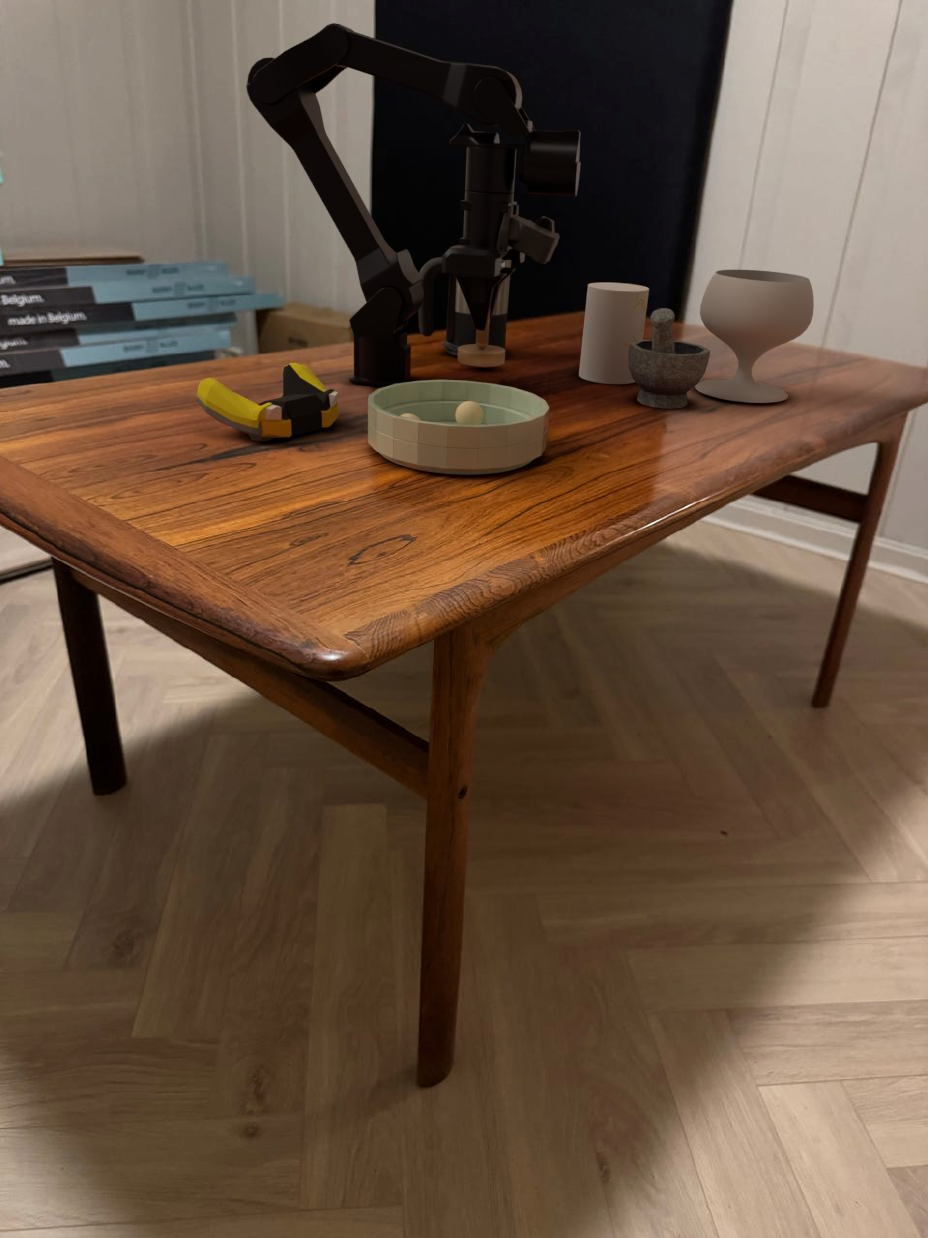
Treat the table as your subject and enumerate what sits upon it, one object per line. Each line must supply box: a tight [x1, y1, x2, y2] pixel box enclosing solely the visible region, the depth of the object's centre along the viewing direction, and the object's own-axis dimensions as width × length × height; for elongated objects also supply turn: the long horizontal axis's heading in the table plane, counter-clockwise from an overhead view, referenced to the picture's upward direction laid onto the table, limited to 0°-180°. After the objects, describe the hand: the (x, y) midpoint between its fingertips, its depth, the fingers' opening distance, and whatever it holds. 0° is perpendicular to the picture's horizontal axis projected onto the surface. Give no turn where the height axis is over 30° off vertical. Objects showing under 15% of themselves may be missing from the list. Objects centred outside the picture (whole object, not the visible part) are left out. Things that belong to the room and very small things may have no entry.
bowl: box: [367, 379, 550, 476], centre depth 94 cm, size 18×18×5 cm
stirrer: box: [457, 311, 506, 368], centre depth 115 cm, size 6×6×10 cm
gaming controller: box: [196, 361, 340, 442], centre depth 98 cm, size 15×6×10 cm
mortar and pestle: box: [628, 307, 711, 410], centre depth 114 cm, size 11×9×12 cm
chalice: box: [694, 269, 815, 404], centre depth 120 cm, size 14×14×15 cm
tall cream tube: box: [578, 282, 650, 385], centre depth 126 cm, size 8×8×12 cm
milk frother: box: [417, 245, 512, 369], centre depth 132 cm, size 14×16×15 cm
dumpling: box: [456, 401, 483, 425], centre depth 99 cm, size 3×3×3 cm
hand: (482, 328), depth 115 cm, fingers closed on stirrer
